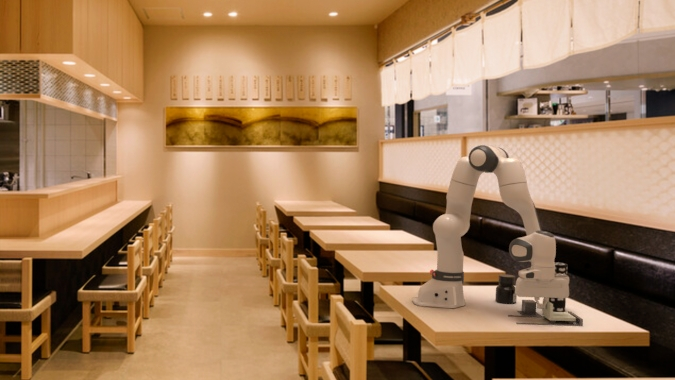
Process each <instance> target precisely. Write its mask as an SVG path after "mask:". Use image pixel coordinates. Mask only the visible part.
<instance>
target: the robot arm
mask: <svg viewBox="0 0 675 380" xmlns="http://www.w3.org/2000/svg"><path fill="white" fill-rule="evenodd" d="M484 173H485V174H488V173H489V174H491V173H493V174H494V175H495V177H496V178H497V179H496V180H497V183H498V190H499V194H500V198H501V200H502V202H503V204H504V205H505V206H507V207H509V208H510V209H513V210H514V211H516V213H518V214H519V215H520V217H521V220H522V222H523V226H524V231H525V234H526V235H525V236H522V237H517V238H515V239H513V240H511V242H510V243H509V246H508V247H509V248H508V253H509V255H510V257H511V259H513V260H514V261H515V262H520V263H525V262H530V264H531V265H530V267H527V268H524V269H521V270H518V277H517V279H515V284H514V286H515V294H516V295H517V297H519V298H533V300H534V301H535V302H536V309H537V310H542V309H545V308H546V304H547V302H548V301H549V298H566V299H567V298H569V296H570V287H569V284H570V277H569V275H568V274H567V275H566V274H555V263H554V262H555V260H556V259H555V258H556V256H557V255H556V253H557V251H556V250H557V248H556V247H557V245H556V244H557V241H556V237H555V235H554V234H553V233H551V232H549V231H545V230H542V229H543V228H542V225H541V223H540V218H539V216H538V215H539V214H538V212H537V208H536V205H535V202H534V201H533V199H532V197H531V194H530V190H529V186H528V182H527V177H526V173H525V170H524V167H523V165H522V161H520V159H518V158H516V157H509V154H508V153H507V151H506V150H504V148H502V147H499V146H496V145H495V146H494V145H485V144H482V145H477V146H475V147H474V148H472V149H471V150H470V151H469V154H468V156H462V157H460V158H459V159H458V161H457V163H456V164H455V167H454V169H453V172H452V174H451V179H450V182H449V185H448V188H447V193H446V196H445V197H446V206H445V207H446V208H445V213H444V214H442V215H440V216H438V217H437V218H436V219H435V220H434V222H433V223H432V230H433V233H434V236H435V243H436V252H437V253H436V254H437V256H436V257H437V258H436V259H437V260H436V261H437V262H436V269H435V270H434V269H430V270H429V273H430V275H431V278H430V279H429V280H428V281H426V282H425V283H424V284H422V285H421V286H419V289H418V292H417V296H414V297H412V300H411V301H412V303H413V304H414V305H416V306H419V307H420V306H421V307H431V308H432V307H433V308H445V309H446V308H447V309H455V308H459V307H463V306H466V301H465V295H464V282H465V271H464V258H465V257H464V256H465V255H464V254H465V253H464V251H463V247H462V238H461V237H463V236H464V235H465V234H466V233H468V231H469V229H470V227H471V225H470V224H471V222H470V221H471V213H472V204H473V201H474V197H475V194H476V193H475V192H476V189H477V185H478V183H479V179H480V177H481V175H482V174H484ZM560 276H562V277H560ZM566 276H567V277H566ZM540 298H543V299H544V302H543V301H542V303H540V300H541V299H540Z"/></svg>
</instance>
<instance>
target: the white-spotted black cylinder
mask: <svg viewBox="0 0 675 380" xmlns="http://www.w3.org/2000/svg"><path fill="white" fill-rule="evenodd" d="M554 263H555V274H566V275H567V276H568V267H569V266H568V264H567V263H564V262H559V261H558V262H555V261H554ZM567 276H566V277H567ZM560 277H562V276H560ZM566 300H567V298H549V302H550V303H552V304H553V312H566V303H567V301H566Z"/></svg>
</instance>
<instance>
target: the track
mask: <svg viewBox="0 0 675 380" xmlns="http://www.w3.org/2000/svg"><path fill="white" fill-rule="evenodd" d="M567 312H568V313H569V314H571V315H572V316H574V317H575V318H576V321H573V322H574V323H573V324H569V323H555V324H551V323H550V322H549V323H545V322H542V323H540V322H520V321H519V322H515V323H516V325H534V326H562V327H563V326H566V327H569V326H570V327H583V325H584V318H582V317H580V316H578V315H577V314H575V313H574V312H572V311H567ZM507 316H508V317H510V318H513V317H514V318H540V319H541V318H543V319H545V318H544V316H543V315H541V316H524V315H521V314H517V315H516V314H508V315H507Z"/></svg>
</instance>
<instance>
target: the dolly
mask: <svg viewBox="0 0 675 380" xmlns="http://www.w3.org/2000/svg"><path fill="white" fill-rule="evenodd" d="M543 302H544V298H543V299H542V303H543ZM541 310H542V311H541V316H544V318H543V319H544V320H549V323H550V324H556V321H560V322H561V321H562V322H564V321H565V322H567V324H575V323H574V322H573V321H576V318H575V317H574V316H572V315H571V314H569V313H568V311H567V312H566V311H565V312H553V304H552V303H550V302H549V301H548V302H547V304H546V308H545V309H541Z"/></svg>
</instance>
